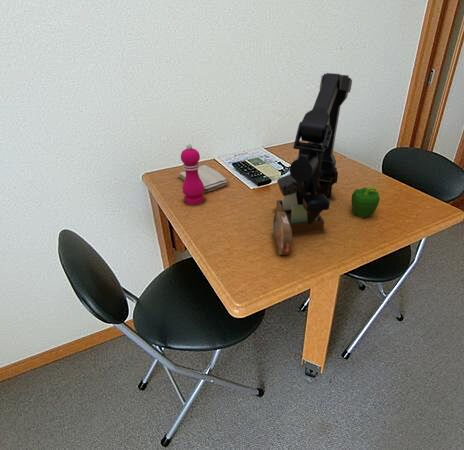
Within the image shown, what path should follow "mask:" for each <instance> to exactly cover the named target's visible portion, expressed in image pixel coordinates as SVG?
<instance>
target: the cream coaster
mask: <svg viewBox="0 0 464 450" xmlns="http://www.w3.org/2000/svg"><path fill="white" fill-rule="evenodd" d="M281 200H282V208H283V210H291V209H292V205H298V203H297V198H296V193H294V194H291V195H287V196H283V195H282V199H281Z"/></svg>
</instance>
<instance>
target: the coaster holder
mask: <svg viewBox="0 0 464 450" xmlns="http://www.w3.org/2000/svg"><path fill="white" fill-rule="evenodd" d="M275 205H276V207H275V209H276V211H283V212H286V214H287V217H288V220H289V223H290V226H291V229H292V235H293V234H301V233H302V234H303V233H313V232H322V231H324V226H325V220H324V218H323V217H322V215H321V213H320V214H319V215H318V220H317V221H314V222H313V223H312V224H308V223H307V222H298V223H291V212H292V209H291V210H283V208H282V199H279V200H277V199H276V204H275Z"/></svg>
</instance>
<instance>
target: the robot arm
mask: <svg viewBox="0 0 464 450" xmlns="http://www.w3.org/2000/svg"><path fill="white" fill-rule="evenodd" d="M352 84H353V79H352V78H351V77H350V75H348V74H341V73H331V72H326V73H323V74H322V75H321V77H320V84H319V91H318V94H317V96H316V99H315V102H314V105H313V107H312V109H311V110H309V111H307V112H305V114H304V116H303V117H302V120H301V121H300V122H299V124H298V127H297V131H296V135H295V139H294V143H293V149H294V150H298V154H297V156H296V157H295V158H294V160H293V161H292V163H291V164H290V166H289V169H288V171H289V174H287V175H284V176H282V177H279V178H278V179H277V180H276V182H277V185H278V188H279V191H280V192H281V194H282V197H283V196H287V195H291V194H294V193H296V198H297V203H298V205H301V204H303V207H304V209H305V210H306V211H307V223H308V224H312V223H313V222H314V220H315V219H316V218H317V216H318V215H319V214H320V215H321V213H322V212H323V211H328V210H329V209H330V204H331V201H329V200H330V199H333V196H332V190H333V185H335V184H337V183H338V178H339V172H338V168H337V167H336V164H337V160H336V158H335V155H334V146H335V141H336V134H337V129H338V123H339V117H340V113H341V112H340V111H341V107H342V105H343V104H344V103H345V101H346V100H347V99H348V95H349V93H351V91H352V86H353V85H352Z"/></svg>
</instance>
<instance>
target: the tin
mask: <svg viewBox="0 0 464 450" xmlns="http://www.w3.org/2000/svg"><path fill="white" fill-rule="evenodd" d="M272 229H273V234H274V236H275V240H276V243H277V248H278V255H280V256H281V255H285V256H286V255H290V254H291V249H292V244H293V234H292V229H291V226H290V223H289V220H288V217H287V214H286V212H283V211H277V210H276V211H275V212H274V216H273V228H272Z"/></svg>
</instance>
